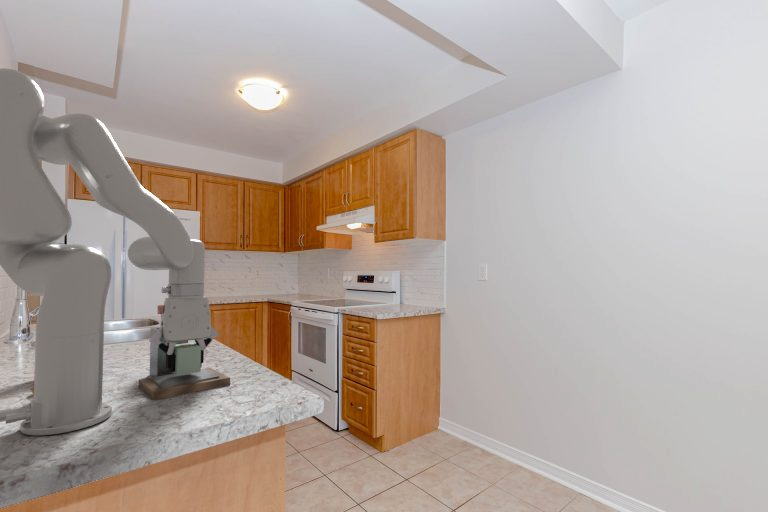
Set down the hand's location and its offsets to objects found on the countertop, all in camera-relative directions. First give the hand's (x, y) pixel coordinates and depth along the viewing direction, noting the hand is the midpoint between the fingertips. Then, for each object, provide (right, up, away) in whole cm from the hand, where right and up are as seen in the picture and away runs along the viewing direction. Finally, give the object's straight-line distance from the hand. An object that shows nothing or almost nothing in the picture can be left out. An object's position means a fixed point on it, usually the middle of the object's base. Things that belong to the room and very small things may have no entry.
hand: (184, 368), depth 90 cm
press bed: (0, -4, 0) cm, 4 cm away
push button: (-9, +5, +10) cm, 14 cm away
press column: (-9, -4, +9) cm, 14 cm away
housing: (0, -1, 0) cm, 1 cm away
